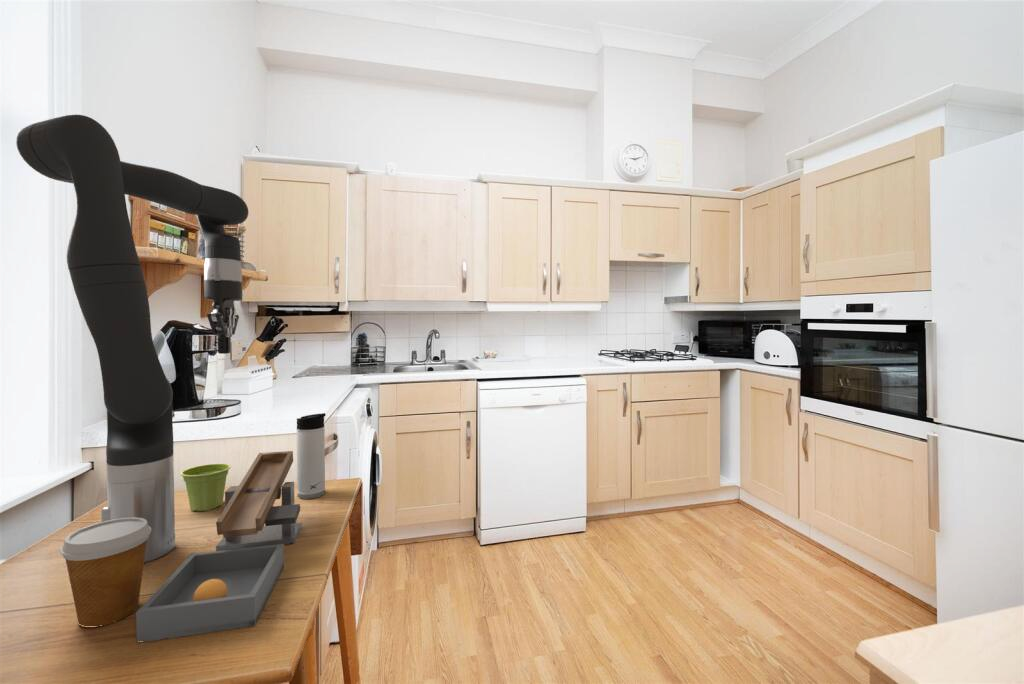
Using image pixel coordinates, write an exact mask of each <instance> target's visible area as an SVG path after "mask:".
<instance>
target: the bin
mask: <svg viewBox="0 0 1024 684" xmlns="http://www.w3.org/2000/svg"><path fill="white" fill-rule="evenodd" d="M284 546H285V544H277V545H268V546H259V547H249V548H240V549H231V550H221V551H216V550H213V551H205V552H204V551H203V552H197V553H191V554H190V555H189V556H188V557H187V558H186V559H185V560H184V561H183V562H182V563H181V564H180V566H178V567H177V569H176V570H175V571H174V572H173V573H172V574H171V575H170V576H169V577H168V578H167V579H166V580H165V582H163V583H162V584H161V585H160V586H159V587H158V589H157V590H156V591H155V592H154V593H153V594H152V595H151V596H150V597H149V598H148V599H147V600H146V601H145V602H144V604H142V606H140V608H139V609H138V610H136V614H135V615H136V621H135V622H136V643H137V642H138V641H139V642H140V641H148V642H155V641H161V640H160V639H162V640H166V639H165V638H168V639H174V638H181V636H182V637H188V636H195V635H201V634H202V635H203V634H208V633H215V632H221V631H228V630H235V629H242V628H243V629H244V628H248V627H255V626H256V625H257V622H258V620H259V618H260V616H261V614H262V613H263V611H264V608H265V606H266V605H267V602H268V600H269V598H270V596H271V594H272V592H273V590H274V587H275V586H276V583H277V582H278V580H279V578H280V575H281V574H282V572H283V570H284V568H285V555H284V553H285V551H284ZM210 579H219V580H222V581H223V582H224V583H225V584H226V586H227V596H226V597H224V598H217V599H209V600H201V601H194V602H193V596H194V593H195V591H196V589H197V588H198V587H199V586H200V585H201V584H202V583H204V582H205V581H207V580H210ZM154 640H155V641H154Z"/></svg>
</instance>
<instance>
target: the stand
mask: <svg viewBox="0 0 1024 684" xmlns="http://www.w3.org/2000/svg"><path fill="white" fill-rule="evenodd" d="M238 486H239V485H233V486H230V487H229V488H227V489H226V490H224V508H225V507H226V506H227V504H228V502H229V501H230V499H231V498H232V496H233V494H234V493H235V491H236V489H237V488H238ZM284 505H295V481H284V483H283V485H282V487H281V506H284ZM302 527H303V523H302V522H298V523H297V522H296V523H294V524H283V525H273V526H265V525H264V527H263V529H262V531H258V533H257V534H254V535H244V536H235V537H225V538H223V537H222V539H221V540H220V541H219V542H218V543H217V544H216V545H215V551H221V550H231V549H240V548H249V547H259V546H268V545H277V544H284V545H291V544H290V543H293V544H295V542H296V540H297V538H298V536H299V534H300V532H301V530H302Z"/></svg>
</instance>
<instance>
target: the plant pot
mask: <svg viewBox="0 0 1024 684" xmlns="http://www.w3.org/2000/svg"><path fill="white" fill-rule="evenodd" d="M231 467H232V466H231V464H228V463H210V464H201V465H196V466H193V467H188V468H186V469H184V470H182V471H181V472H180V476H182V480H183V481H184V484H185V487H186V491H187V496H188V504H189V509H190V510H191V511H193V512H194V511H198V512H204V511H209V510H213V509H216V508H217V507H218V506H219V505H220V506H222V505H223V504H224V498H225V491H226V490H225V489H226V483H227V482H226V481H227V476H228V475H229V470H230V469H231Z"/></svg>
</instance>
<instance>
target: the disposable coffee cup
mask: <svg viewBox="0 0 1024 684" xmlns="http://www.w3.org/2000/svg"><path fill="white" fill-rule="evenodd" d="M150 533H151V527H149V526H148V523H147V521H146V519H143V518H136V517H132V518H120V519H113V520H108V521H104V522H101V521H100V522H96V523H94V524H90V525H87V526H85V527H81V528H79V529H77V530H75V531H73V532H71V533H70V534H68V535H67V536H66V537H65V538H64V542H63V545H62V546H61V547H60V549H59V552H60V554H61V556H62V557H63V559H64V560H65V564H66V568H67V573H68V579H69V584H70V588H71V592H72V597H73V603H74V607H75V613H76V618H77V622H78V623H79V624H81V625H84V626H100V625H104V626H106V625H105V624H108V625H110V624H109V623H111V624H113V623H112V622H114V621H116V622H118V621H117V620H119V619H121V620H123V619H125V618H126V616H127V615H128V616H130V615H131V614H133V613H134V612H135V611H136V610H137V609H138V607H139V603H140V593H141V589H142V588H141V587H142V581H143V580H142V579H143V571H144V566H145V562H144V559H145V552H146V544H147V539H148V537H149V534H150ZM135 609H136V610H135ZM134 610H135V611H134ZM133 611H134V612H133ZM132 612H133V613H132ZM129 614H130V615H129ZM128 616H127V617H128ZM124 617H125V618H124ZM122 618H123V619H122ZM119 621H120V620H119ZM114 623H115V622H114ZM79 624H78V625H79Z"/></svg>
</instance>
